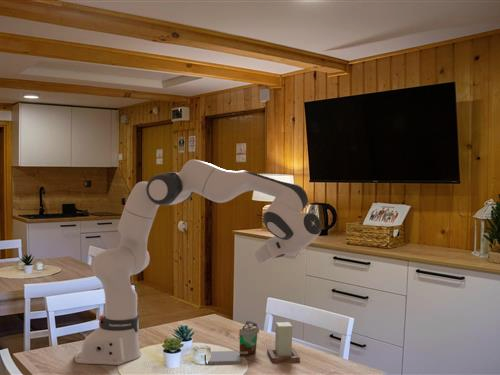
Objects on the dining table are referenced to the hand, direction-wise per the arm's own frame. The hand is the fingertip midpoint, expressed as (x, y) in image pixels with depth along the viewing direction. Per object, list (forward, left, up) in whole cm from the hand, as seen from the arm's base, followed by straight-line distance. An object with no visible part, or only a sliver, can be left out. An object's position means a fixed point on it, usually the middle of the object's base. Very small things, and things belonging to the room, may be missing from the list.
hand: (274, 256), depth 182 cm
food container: (-7, +7, -37) cm, 38 cm away
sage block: (+4, +1, -37) cm, 37 cm away
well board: (+4, +1, -37) cm, 37 cm away
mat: (-18, +1, -37) cm, 41 cm away
